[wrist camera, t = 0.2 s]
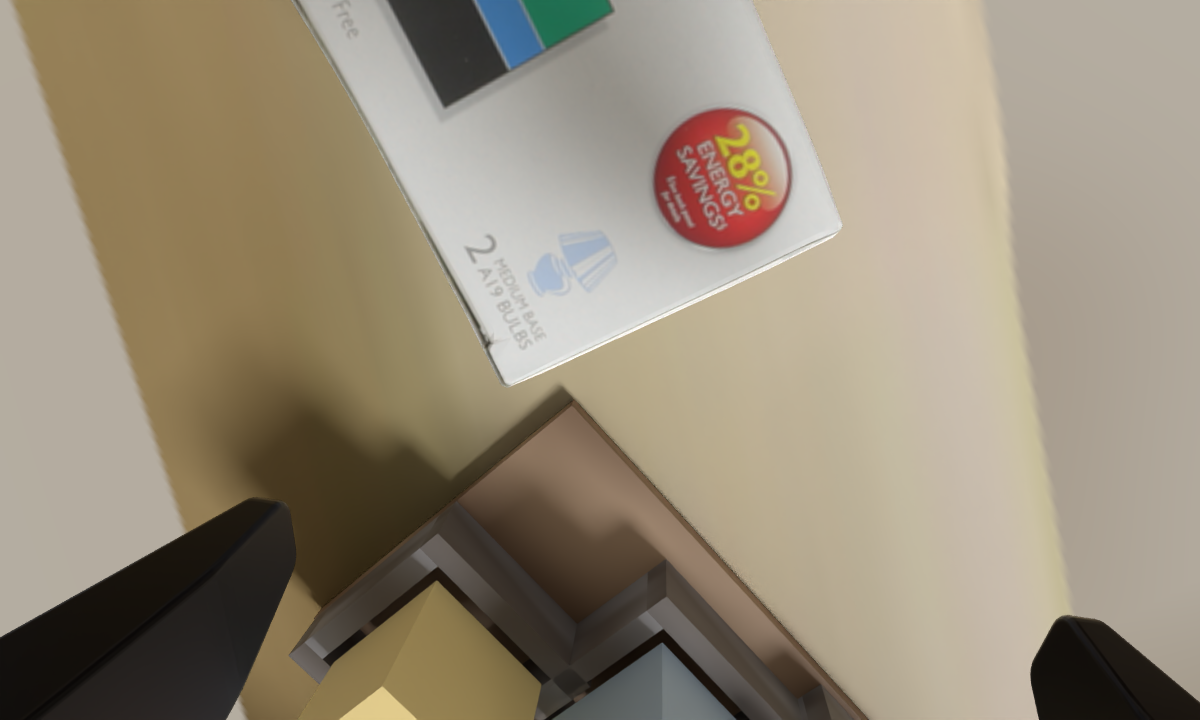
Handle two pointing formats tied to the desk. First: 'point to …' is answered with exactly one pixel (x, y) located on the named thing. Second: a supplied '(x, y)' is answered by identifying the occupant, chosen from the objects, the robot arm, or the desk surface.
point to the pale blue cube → (650, 694)
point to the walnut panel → (585, 584)
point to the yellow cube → (427, 670)
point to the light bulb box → (581, 156)
